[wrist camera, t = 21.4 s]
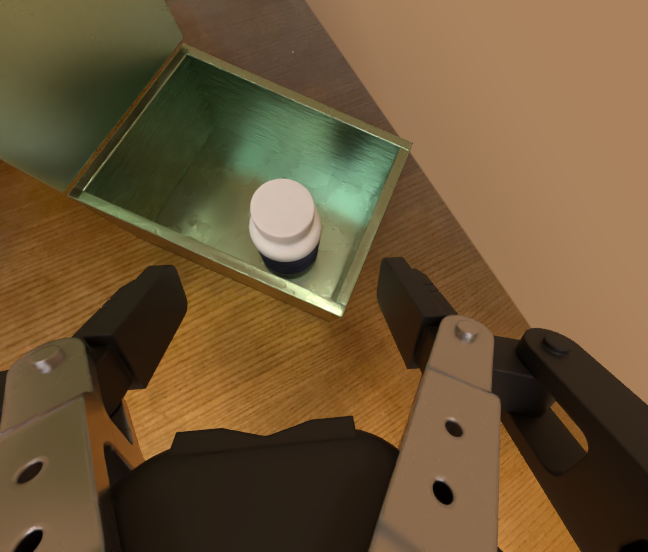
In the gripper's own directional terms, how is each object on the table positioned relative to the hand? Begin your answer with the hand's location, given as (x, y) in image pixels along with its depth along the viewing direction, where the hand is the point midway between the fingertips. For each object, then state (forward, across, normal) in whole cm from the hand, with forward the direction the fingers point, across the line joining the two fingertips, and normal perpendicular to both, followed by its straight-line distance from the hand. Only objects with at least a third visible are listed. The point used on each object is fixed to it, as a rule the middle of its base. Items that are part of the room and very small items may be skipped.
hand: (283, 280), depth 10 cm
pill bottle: (+13, 0, +6) cm, 14 cm away
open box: (+17, +2, +3) cm, 17 cm away
